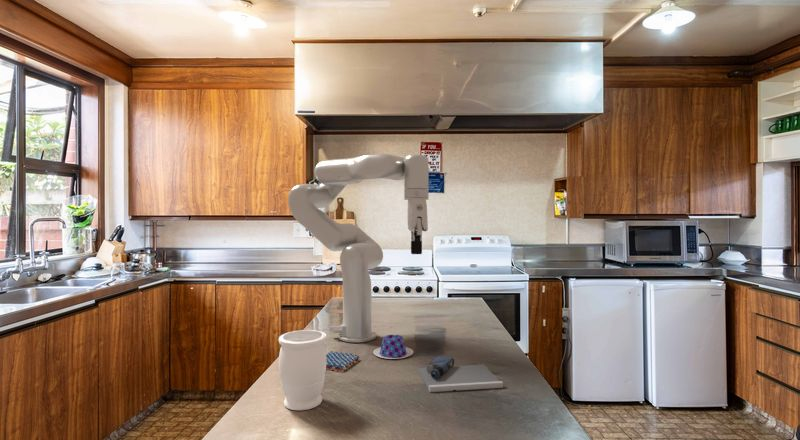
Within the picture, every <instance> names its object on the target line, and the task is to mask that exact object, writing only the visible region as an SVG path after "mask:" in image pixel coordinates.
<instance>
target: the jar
mask: <svg viewBox="0 0 800 440" xmlns="http://www.w3.org/2000/svg"><path fill="white" fill-rule="evenodd" d="M326 339H327V334H326V333H325V332H324V331H321V330H315V329H314V330H313V329H300V330H293V331H288V332H286V333H283V334H281V335H280V336H278V343H279V345H280V350H279V353H278V354H279V355H278V373H279V379H280V384H281V390H282V392H283V394H284V396H285V399H284V400H283V405H284V407H285V408H287V409H288V410H291V411H308V410H311V409H314V408H316V407H319V406H320V405H321V404H322V402H323V397H322V395H321V394H322V391H323V388H324V384H325V379H326V378H325V376H326V371H327V369H326V354H327V350H326V345H325V341H326Z"/></svg>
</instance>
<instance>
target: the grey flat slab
mask: <svg viewBox="0 0 800 440" xmlns="http://www.w3.org/2000/svg"><path fill="white" fill-rule="evenodd" d="M418 371H419V373H420V376H421V378H422V379H423V382H424V383H425V385H426V388H427V389H428V391H429V393H438V392H452V391H453V390H456V391H468V390H469V391H470V390H471V391H472V390H483V389H484V390H486V389H487V390H488V389H501V388H502V389H503V388H504V382H503V381H502V380H499V379H498V378H497V377H496V375H494V374H493V373H492V372H491V370H489V368H488V367H487V366H486V365H485V364H473V365H471V364H470V365H456V366H455V365H453V366H452V367H451V368H450V369H449V370H447V371H446V372H445V373H444V374H442V375H441V376H440V377H439V378H438V379H433V378H432V377H431V374H430V373H428V372H427V367H419V368H418ZM453 392H454V391H453Z"/></svg>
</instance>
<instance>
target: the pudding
mask: <svg viewBox="0 0 800 440" xmlns="http://www.w3.org/2000/svg"><path fill="white" fill-rule="evenodd" d="M380 345H381V346H380V347H376V348H375V349H374V350H373V352H372V353H373V355H375V356H376V357H379V358H381V359H387V360H388V359H389V360H392V359H393V360H394V359H395V360H397V359H404V358H407V357H410V356H412V355H413V354H414V350H413V349H412V348H410V347H408V346H406V345H405V340H404V338H403V336H402V335H400V334H386V335H385V336H383V338H382V343H381V344H380Z"/></svg>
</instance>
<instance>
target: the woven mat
mask: <svg viewBox="0 0 800 440" xmlns="http://www.w3.org/2000/svg"><path fill="white" fill-rule="evenodd" d="M359 361H361V359H360V356H359V355H358V354H353V353H350V354H348V353H347V352H345V353H343V352H339V353H338V351H335V352H334V351H332V350H331V351H330V352H326V371H335V372H338V373H339V372H340V373H344V372H345V371H346V370H349V368H351V367H352V366H353V365H355V364H357V363H358V362H359Z"/></svg>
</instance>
